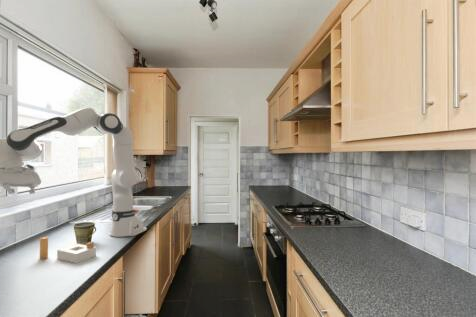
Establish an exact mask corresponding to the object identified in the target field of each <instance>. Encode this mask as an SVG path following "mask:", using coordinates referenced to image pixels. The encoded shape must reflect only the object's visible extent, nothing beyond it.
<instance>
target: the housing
mask: <svg viewBox="0 0 476 317" xmlns="http://www.w3.org/2000/svg"><path fill="white" fill-rule="evenodd" d="M56 256H57V257H56V258H57V260H60V261H64V260H65V261H64V262H68V261H69V262H70V263H74V264H79V263H81V262H84V261H86V260H88V259H89V260H90V259H91V257H92V258H94V257H96V256H97V247H96V246H94V242H93V241H91V242H89V243H87V244H86V245H82V244H77V243H75V244H72V245H68V246H66V247H65V246H64V247H63V248H59V249H57V254H56ZM69 262H68V263H69Z"/></svg>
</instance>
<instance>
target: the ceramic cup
mask: <svg viewBox="0 0 476 317" xmlns="http://www.w3.org/2000/svg"><path fill="white" fill-rule="evenodd" d="M95 225H96V223H95V222H92V221H84V222H83V221H82V222H78V223H74V224H73V232H74V234H75V240H76V244H82V245H87V243H89V242H92V238H93V235H94V233H96V232H97V228H96V226H95Z"/></svg>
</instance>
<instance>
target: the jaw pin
mask: <svg viewBox="0 0 476 317" xmlns="http://www.w3.org/2000/svg"><path fill="white" fill-rule="evenodd" d="M48 258H49V237H47V236H43V237H40V239H39V260H47V259H48Z"/></svg>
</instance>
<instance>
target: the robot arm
mask: <svg viewBox="0 0 476 317" xmlns="http://www.w3.org/2000/svg"><path fill="white" fill-rule="evenodd" d="M91 128H94V129H95V130H96V131H98V132H99V133H100V134H106V135H108V134H109V135H110V136H111V137H112V159H113V162H114V170H113V171H112V173H111V174H110V175H111V176H110V180H111V189H112V190H111V192H112V209H111V210H112V211H111V218H112V219H111V224H110V226H111V227H110V230H109V236H111V237H117V238H119V237H120V238H121V237H122V238H123V237H134V236H136V235H139V234H142V233H144V232H145V231H147V230H148V229H147V227H145V226H144V223H143V222H144V221H143V220H142V219H141V218H140V217H138V216H137V215H136V213H138V212H139V210H138V209H136V208H135V209H134V195H133V190H132V187H134V186H135V185H136V184H137V182H138V176H137V174H136V165H135V161H134V146H133V145H134V142H133V140H134V139H133V134H132V131H131V129H130V128H129V127H128V126H124V124H123V123H122V121H121V118H119V116H118V115H117V114H116V113H113V112H106V113H104V114H100V113H99V112H97V111H96V110H95V109H94V108H93V107H90V106H87V107H84V108H81V109H77V110H75V111H73V112H71V113H69V114H66V115H64V116H54V117H52V118H48V119H45V120H43V121H40V122H38V123H35V124H32V125H30V126H27V127H22V128H21V127H20V128H17V129H14V130H12V131H11V132H9V133H8V135H7V136H6V137H5V138H4V137H3V138H0V187H3V189H4V190H6V191H7V192H8V195H13V194H15V189H14V188H12V187H15V188H18V187H19V188H21V187H22V188H29V189H30V190H28V193H29V194H30V195H34V194H35V193H36V190H35V189H36V187H38V186H40V185H41V183H42V180H41V178H40V175H39V174H38V172H37V171H36V167H35V166H34V165H31V164H28V163H27V161H30V160H34V159H37V158H38V157H39V156H40V155H41V154H42V151H43V148H42V146H41V144H39V142H38V141H37V139H38V138H40V137H43V136H47V134H50V133H53V132H60V133H63V134H65V135H67V136H76V135H80V134H81V133H83V132H85V131H86V130H88V129H91Z"/></svg>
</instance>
